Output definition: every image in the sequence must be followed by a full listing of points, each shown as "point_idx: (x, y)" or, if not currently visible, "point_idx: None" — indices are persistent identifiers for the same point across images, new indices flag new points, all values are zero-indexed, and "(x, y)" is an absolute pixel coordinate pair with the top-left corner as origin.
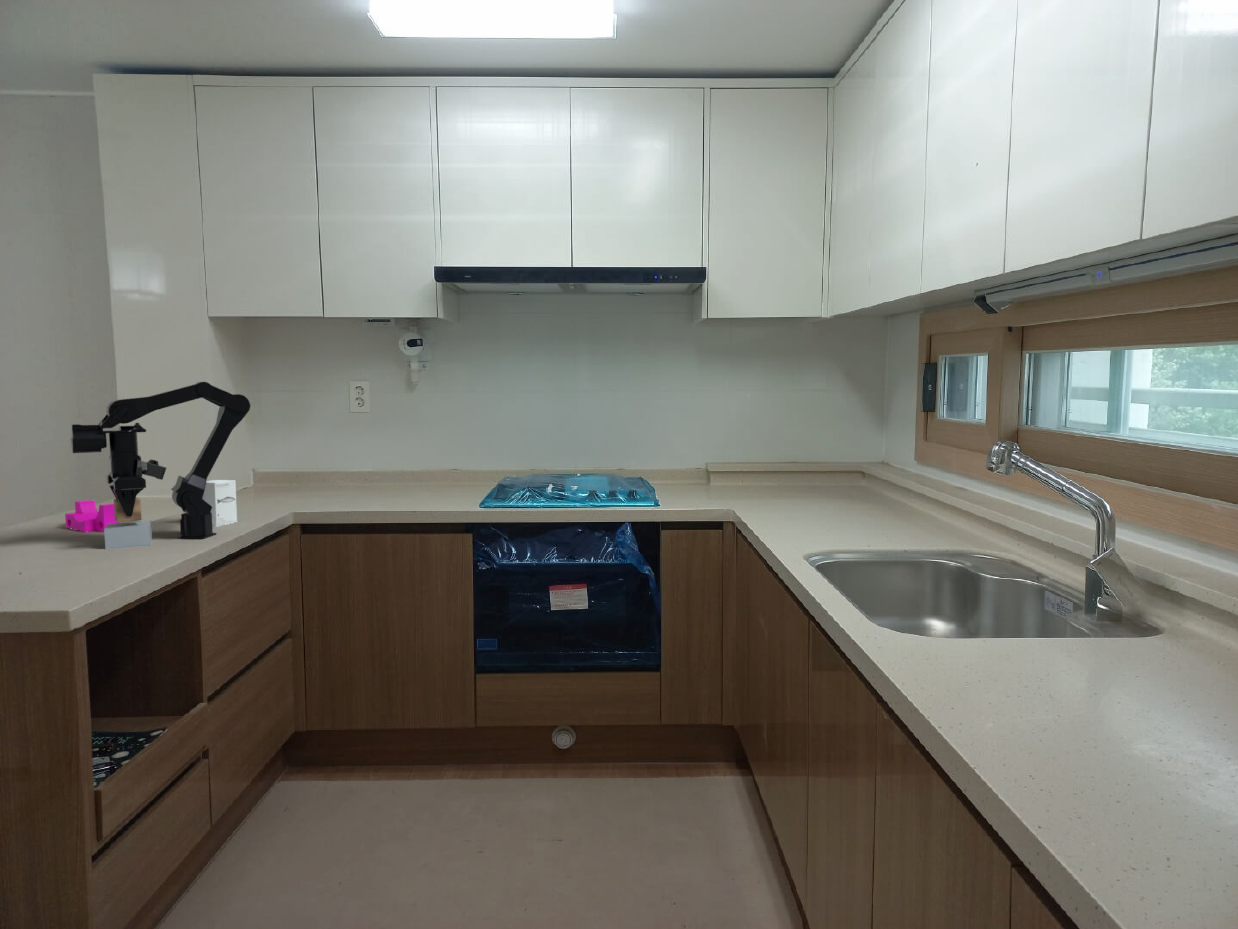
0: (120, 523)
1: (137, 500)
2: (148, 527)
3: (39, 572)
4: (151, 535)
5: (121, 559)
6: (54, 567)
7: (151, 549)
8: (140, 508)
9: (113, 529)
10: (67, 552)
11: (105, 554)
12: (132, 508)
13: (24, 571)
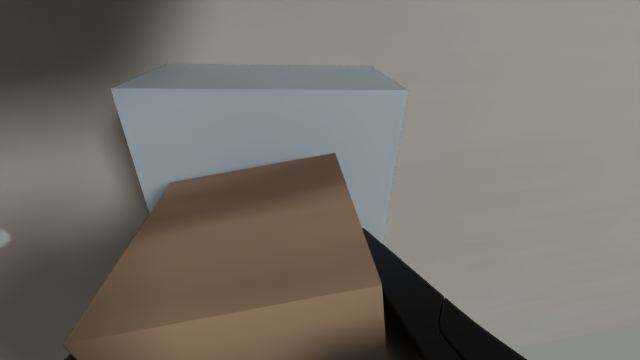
0: None
1: (379, 303)
2: (404, 90)
3: (601, 301)
4: (188, 68)
5: (614, 153)
6: (567, 288)
7: (488, 54)
8: (353, 209)
9: None
10: None
11: (468, 209)
12: (403, 267)
13: (558, 325)
